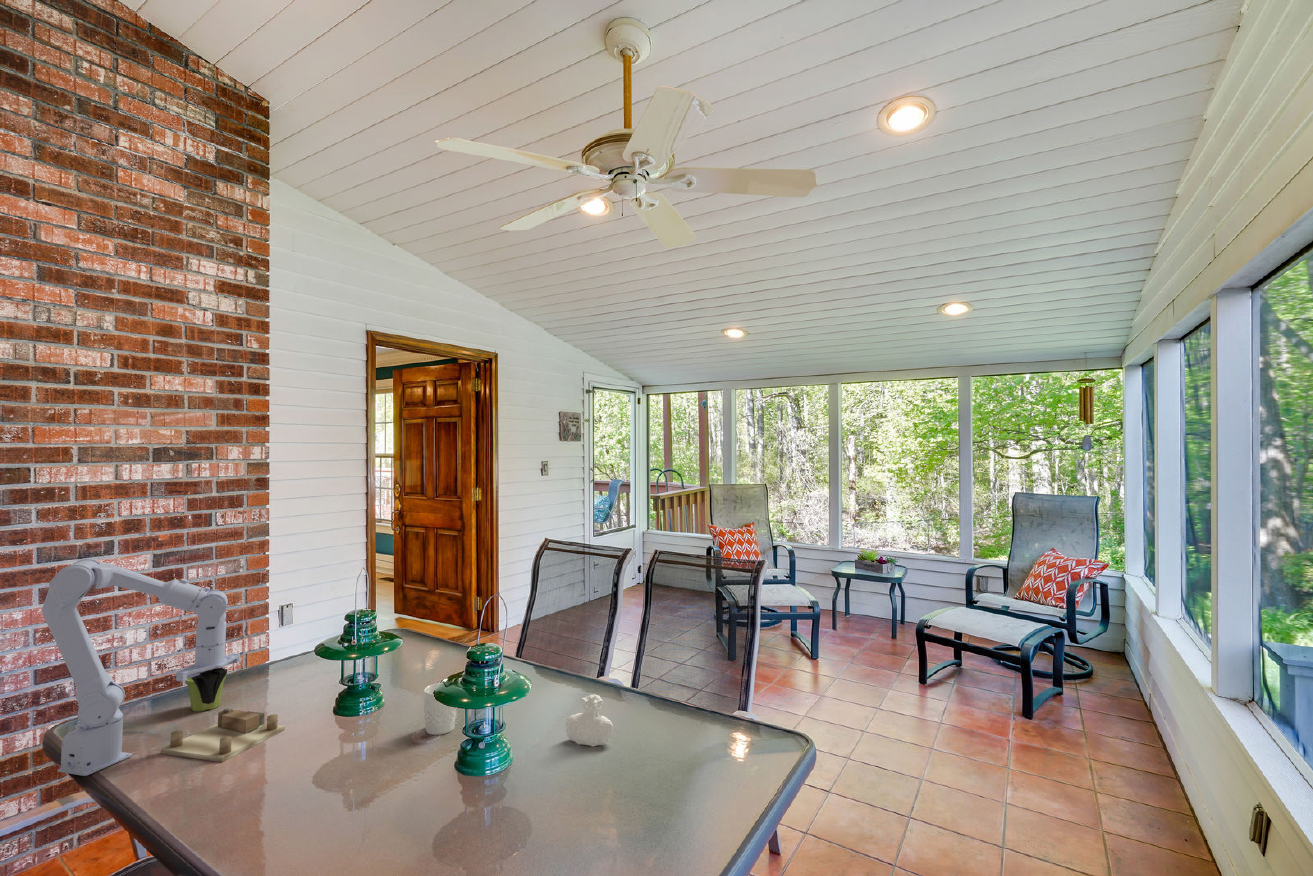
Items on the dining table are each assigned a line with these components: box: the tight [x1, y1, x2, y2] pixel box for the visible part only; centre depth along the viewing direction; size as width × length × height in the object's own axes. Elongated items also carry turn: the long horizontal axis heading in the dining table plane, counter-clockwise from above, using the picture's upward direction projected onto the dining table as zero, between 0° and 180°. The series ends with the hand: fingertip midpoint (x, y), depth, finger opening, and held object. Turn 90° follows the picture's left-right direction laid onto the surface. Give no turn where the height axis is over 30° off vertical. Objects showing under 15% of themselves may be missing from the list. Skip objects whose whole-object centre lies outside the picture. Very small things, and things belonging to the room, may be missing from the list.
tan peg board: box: [160, 711, 286, 763], centre depth 146 cm, size 17×17×4 cm
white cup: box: [423, 682, 457, 736], centre depth 154 cm, size 8×8×10 cm
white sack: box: [565, 693, 614, 748], centre depth 149 cm, size 12×8×11 cm
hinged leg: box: [217, 708, 260, 733], centre depth 151 cm, size 11×4×4 cm, turn 71°
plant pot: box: [185, 670, 229, 712], centre depth 166 cm, size 9×9×9 cm
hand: (208, 702), depth 146 cm, fingers closed
